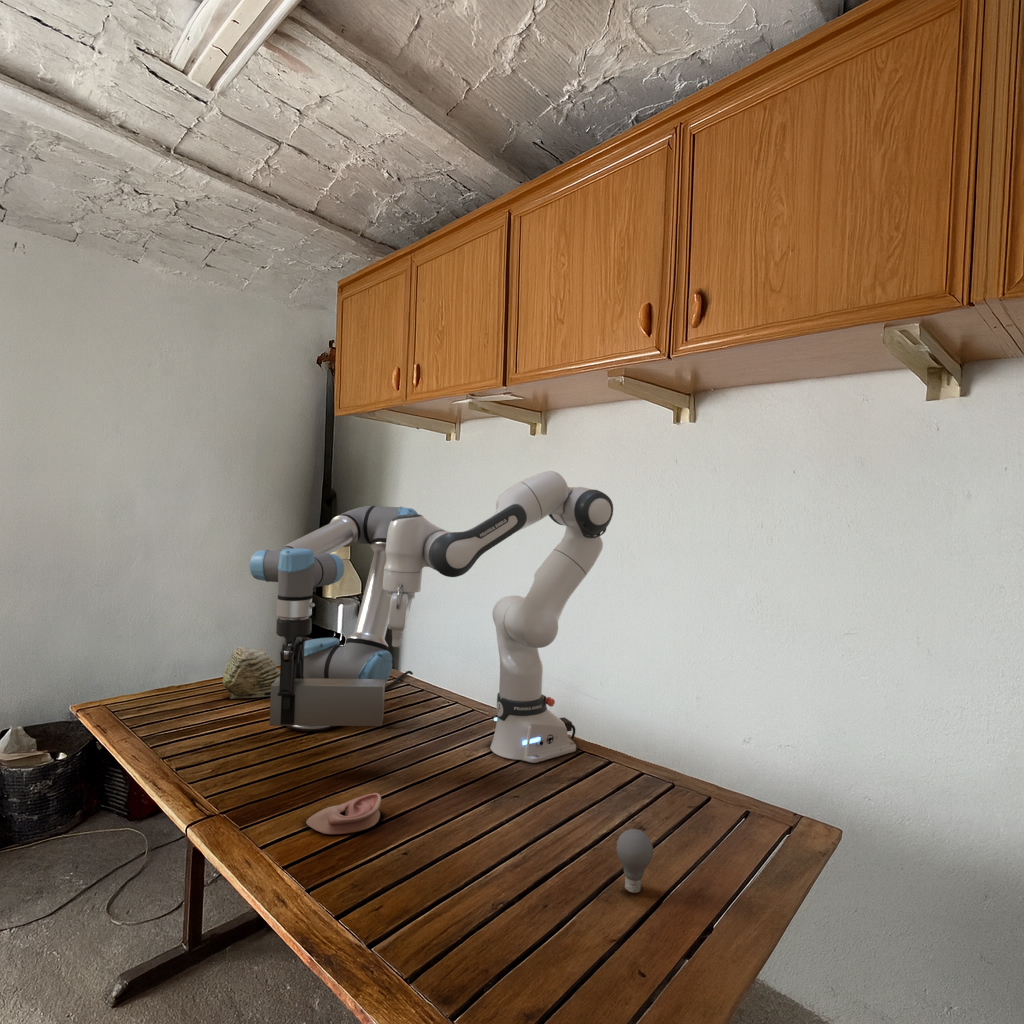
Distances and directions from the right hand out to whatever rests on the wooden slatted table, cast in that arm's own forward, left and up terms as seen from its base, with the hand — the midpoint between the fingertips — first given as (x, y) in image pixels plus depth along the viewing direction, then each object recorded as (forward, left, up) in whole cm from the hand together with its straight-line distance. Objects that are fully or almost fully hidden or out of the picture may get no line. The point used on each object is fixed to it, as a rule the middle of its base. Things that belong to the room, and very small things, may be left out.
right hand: (397, 641), depth 148 cm
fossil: (+24, -68, -30) cm, 78 cm away
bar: (+15, -3, -18) cm, 23 cm away
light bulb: (-23, +60, -30) cm, 71 cm away
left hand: (+22, -6, -17) cm, 29 cm away
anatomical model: (+15, +20, -30) cm, 39 cm away
